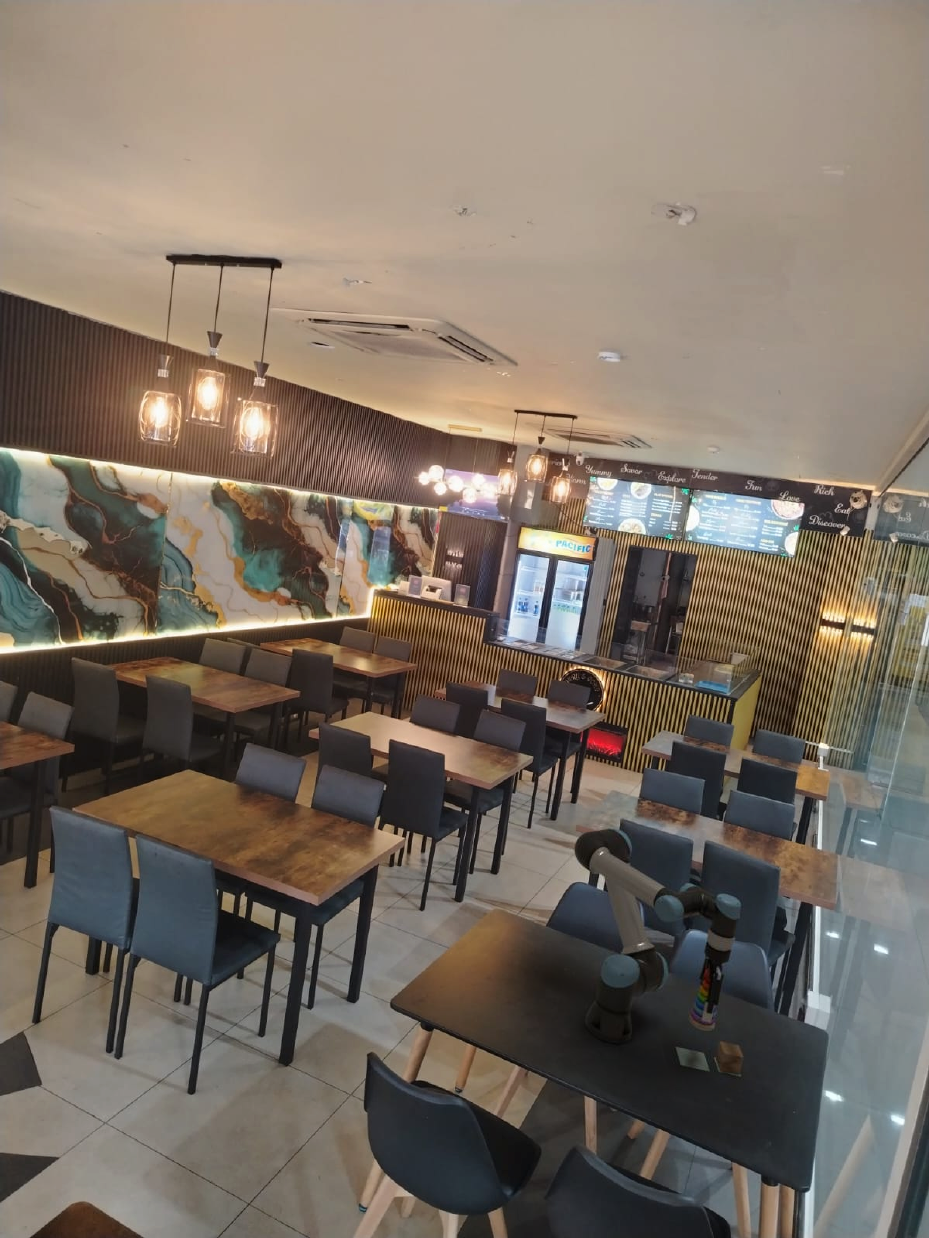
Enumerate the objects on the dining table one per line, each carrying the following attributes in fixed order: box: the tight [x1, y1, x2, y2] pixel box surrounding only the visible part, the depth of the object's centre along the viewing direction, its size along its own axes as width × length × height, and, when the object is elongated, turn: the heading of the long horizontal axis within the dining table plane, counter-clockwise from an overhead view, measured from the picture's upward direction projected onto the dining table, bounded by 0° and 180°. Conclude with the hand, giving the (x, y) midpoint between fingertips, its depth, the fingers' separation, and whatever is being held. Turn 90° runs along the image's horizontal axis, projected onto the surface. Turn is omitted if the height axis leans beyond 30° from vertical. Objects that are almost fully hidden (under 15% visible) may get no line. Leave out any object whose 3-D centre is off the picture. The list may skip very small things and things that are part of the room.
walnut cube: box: [715, 1040, 744, 1075], centre depth 251 cm, size 6×6×6 cm
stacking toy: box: [688, 968, 718, 1032], centre depth 250 cm, size 8×8×19 cm
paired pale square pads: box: [675, 1046, 742, 1078], centre depth 252 cm, size 24×16×1 cm, turn 85°
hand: (703, 1013), depth 251 cm, fingers closed on stacking toy, 7 cm apart
